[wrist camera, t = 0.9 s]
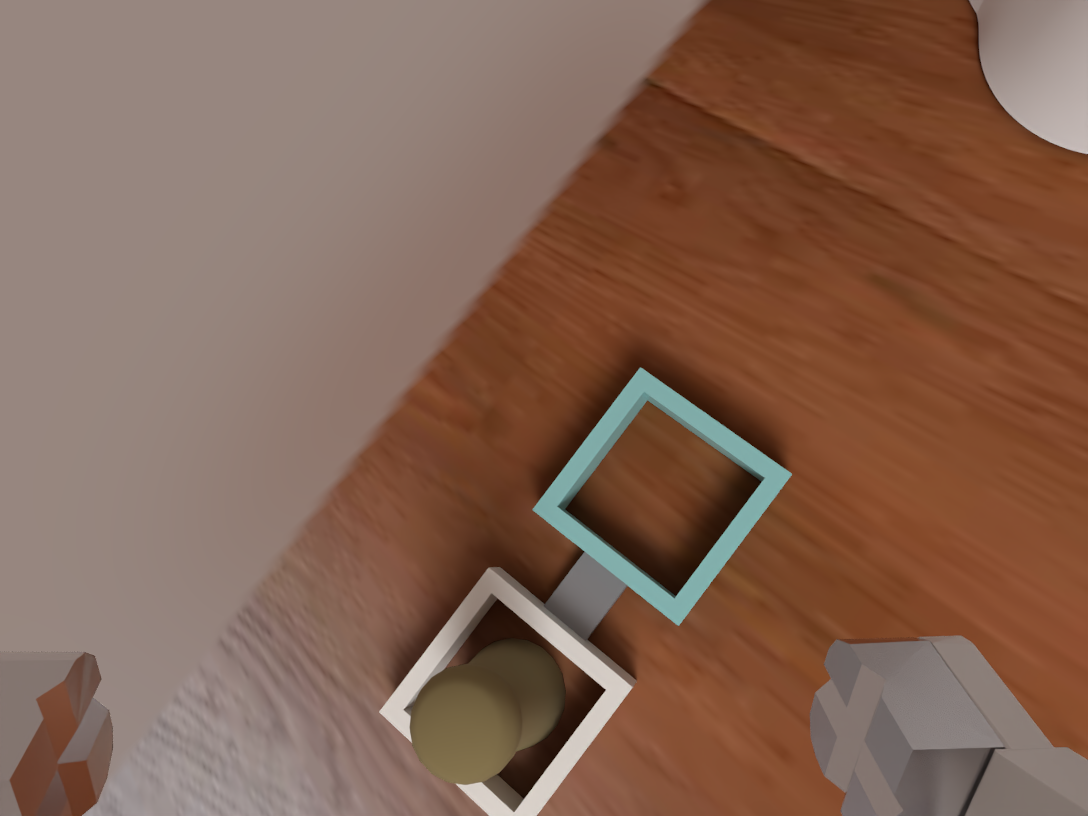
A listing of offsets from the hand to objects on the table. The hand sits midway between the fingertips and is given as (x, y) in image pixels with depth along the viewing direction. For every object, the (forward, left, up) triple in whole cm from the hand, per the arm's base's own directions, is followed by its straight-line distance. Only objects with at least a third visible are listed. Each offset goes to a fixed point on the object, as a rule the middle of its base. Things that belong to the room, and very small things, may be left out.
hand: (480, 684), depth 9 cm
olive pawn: (+10, -3, -39) cm, 40 cm away
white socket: (+8, -3, -39) cm, 40 cm away
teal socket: (-4, -3, -39) cm, 39 cm away
